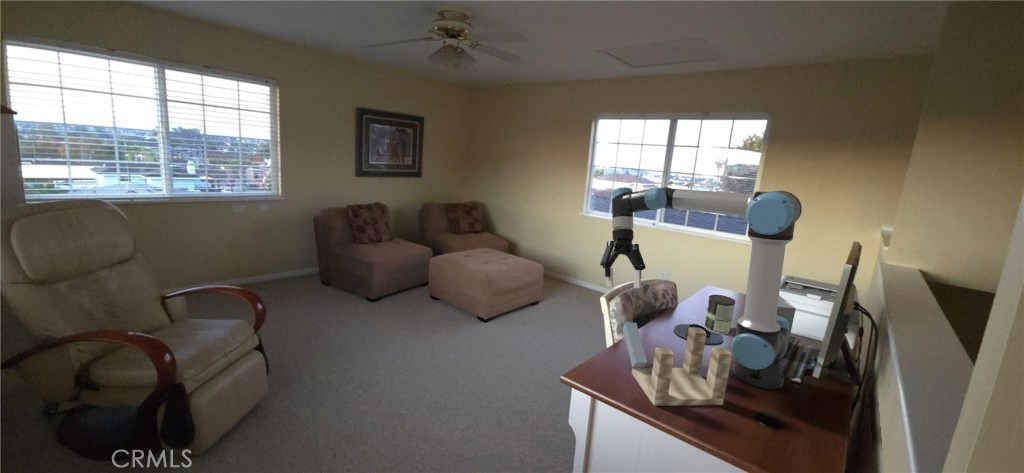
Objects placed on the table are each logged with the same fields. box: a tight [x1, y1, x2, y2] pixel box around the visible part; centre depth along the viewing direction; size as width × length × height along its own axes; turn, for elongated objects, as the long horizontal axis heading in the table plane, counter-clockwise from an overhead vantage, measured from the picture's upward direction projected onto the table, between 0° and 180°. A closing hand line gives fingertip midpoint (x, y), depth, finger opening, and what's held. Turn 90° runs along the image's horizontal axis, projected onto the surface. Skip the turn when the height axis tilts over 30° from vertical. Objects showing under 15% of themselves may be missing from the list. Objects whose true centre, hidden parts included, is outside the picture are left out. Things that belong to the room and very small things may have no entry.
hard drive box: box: [776, 295, 797, 354], centre depth 167 cm, size 16×8×20 cm, turn 168°
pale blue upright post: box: [622, 320, 648, 369], centre depth 148 cm, size 4×4×16 cm
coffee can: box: [704, 294, 736, 335], centre depth 182 cm, size 10×10×14 cm
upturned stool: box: [631, 327, 733, 407], centre depth 135 cm, size 22×18×17 cm
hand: (623, 287), depth 153 cm, fingers open, 13 cm apart
